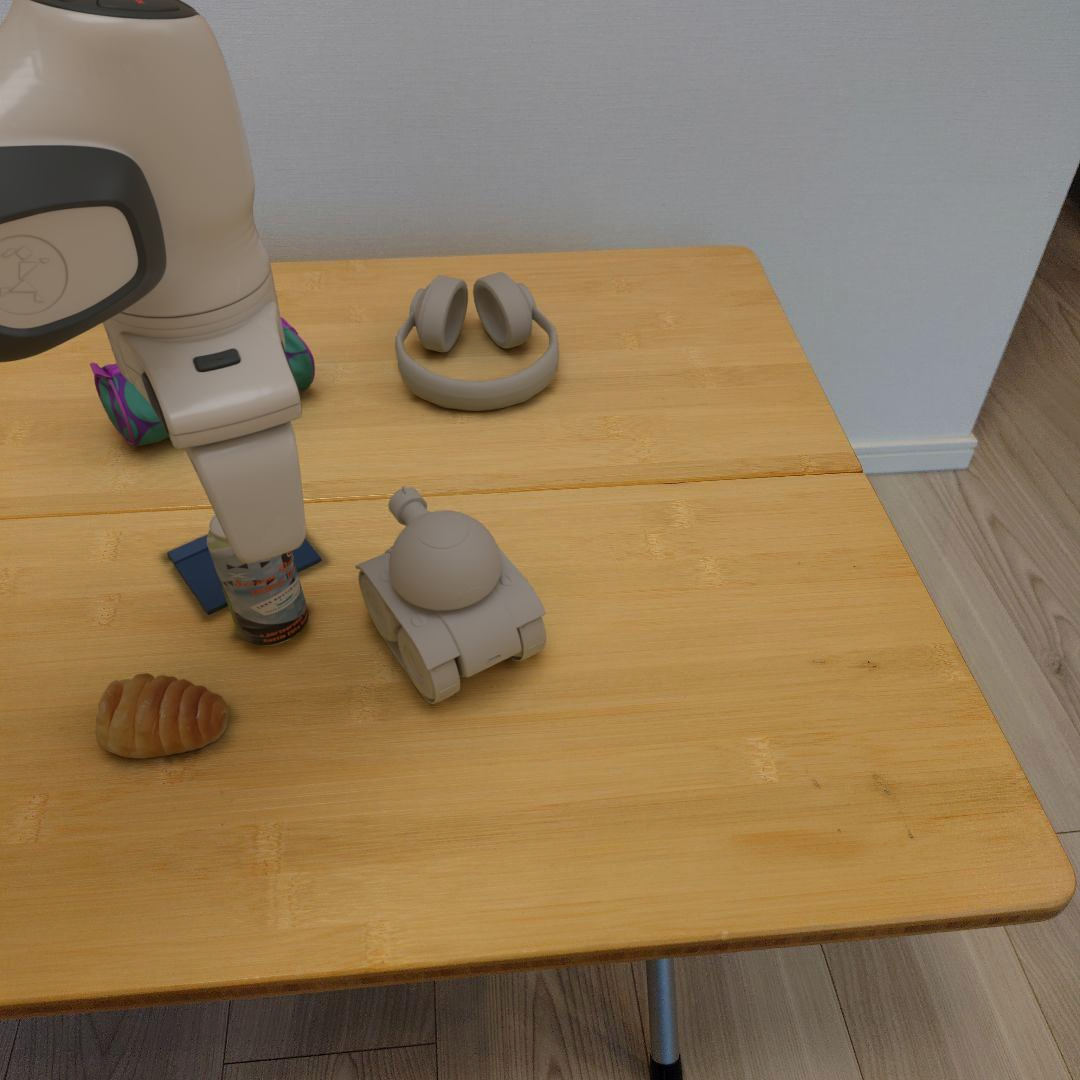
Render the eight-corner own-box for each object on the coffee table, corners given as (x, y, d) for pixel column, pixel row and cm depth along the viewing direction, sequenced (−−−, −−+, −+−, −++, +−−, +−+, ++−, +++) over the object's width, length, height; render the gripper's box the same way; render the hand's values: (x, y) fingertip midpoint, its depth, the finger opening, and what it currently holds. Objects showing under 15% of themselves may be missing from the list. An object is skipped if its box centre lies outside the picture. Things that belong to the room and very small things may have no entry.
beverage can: (261, 668, 78) (229, 567, 70) (218, 617, 82) (184, 515, 74) (326, 630, 81) (304, 529, 73) (283, 582, 85) (257, 481, 77)
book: (208, 614, 82) (206, 609, 82) (168, 555, 87) (166, 550, 87) (321, 560, 87) (320, 555, 86) (277, 507, 92) (276, 501, 92)
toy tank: (356, 604, 83) (336, 493, 74) (461, 558, 87) (454, 448, 78) (438, 725, 74) (426, 617, 65) (550, 668, 78) (554, 559, 69)
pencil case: (287, 363, 109) (272, 288, 103) (323, 400, 104) (309, 324, 98) (107, 427, 100) (77, 350, 94) (136, 472, 95) (107, 393, 89)
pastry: (240, 691, 76) (229, 662, 74) (220, 765, 72) (208, 736, 69) (123, 690, 76) (108, 661, 74) (95, 763, 71) (78, 735, 69)
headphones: (395, 315, 116) (401, 434, 104) (389, 261, 110) (394, 380, 97) (544, 307, 118) (567, 422, 106) (546, 254, 111) (571, 369, 99)
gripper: (102, 250, 56) (161, 436, 66) (174, 445, 43) (235, 641, 53) (210, 230, 58) (252, 413, 68) (309, 410, 45) (344, 605, 55)
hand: (245, 515), depth 60 cm, fingers closed
